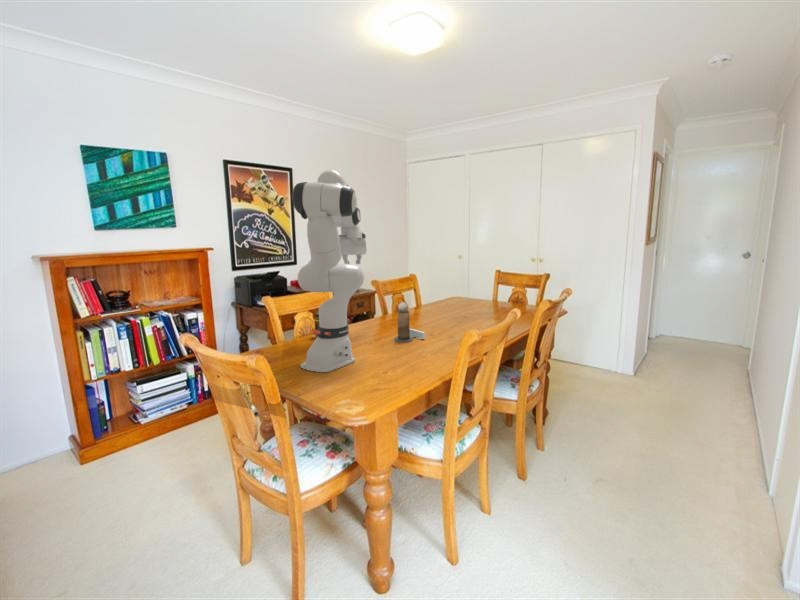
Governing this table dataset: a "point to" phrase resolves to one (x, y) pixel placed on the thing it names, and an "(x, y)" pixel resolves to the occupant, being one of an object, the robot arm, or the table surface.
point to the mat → (403, 340)
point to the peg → (403, 321)
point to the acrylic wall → (417, 334)
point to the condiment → (316, 322)
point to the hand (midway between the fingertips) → (352, 264)
